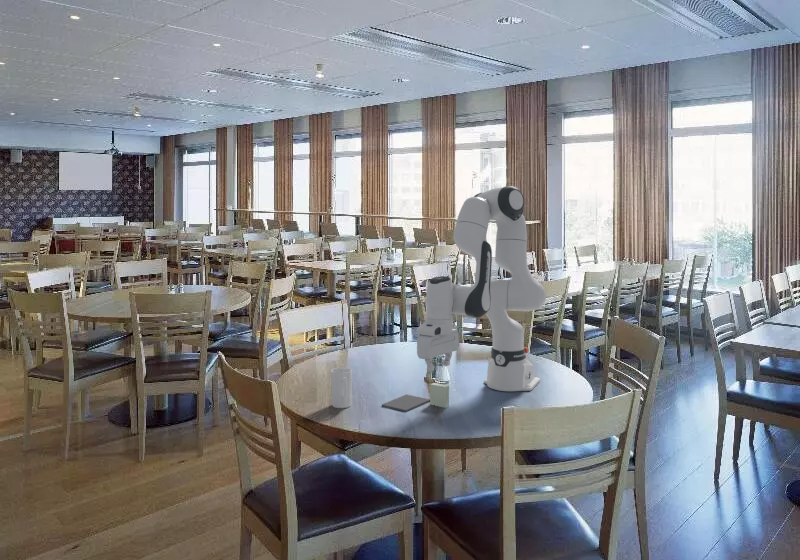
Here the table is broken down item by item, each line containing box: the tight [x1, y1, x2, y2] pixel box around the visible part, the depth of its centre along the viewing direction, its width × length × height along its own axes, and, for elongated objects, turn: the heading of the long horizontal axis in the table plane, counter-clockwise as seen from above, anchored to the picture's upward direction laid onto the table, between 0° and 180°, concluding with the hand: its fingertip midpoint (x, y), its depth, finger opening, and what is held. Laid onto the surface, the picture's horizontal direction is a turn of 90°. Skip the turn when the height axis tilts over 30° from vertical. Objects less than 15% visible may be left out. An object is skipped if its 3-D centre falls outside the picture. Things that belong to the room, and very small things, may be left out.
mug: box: [330, 367, 353, 409], centre depth 227 cm, size 10×7×12 cm, turn 17°
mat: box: [381, 394, 430, 413], centre depth 231 cm, size 14×10×1 cm
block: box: [429, 382, 450, 409], centre depth 229 cm, size 2×6×7 cm, turn 54°
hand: (438, 368), depth 227 cm, fingers open, 8 cm apart
